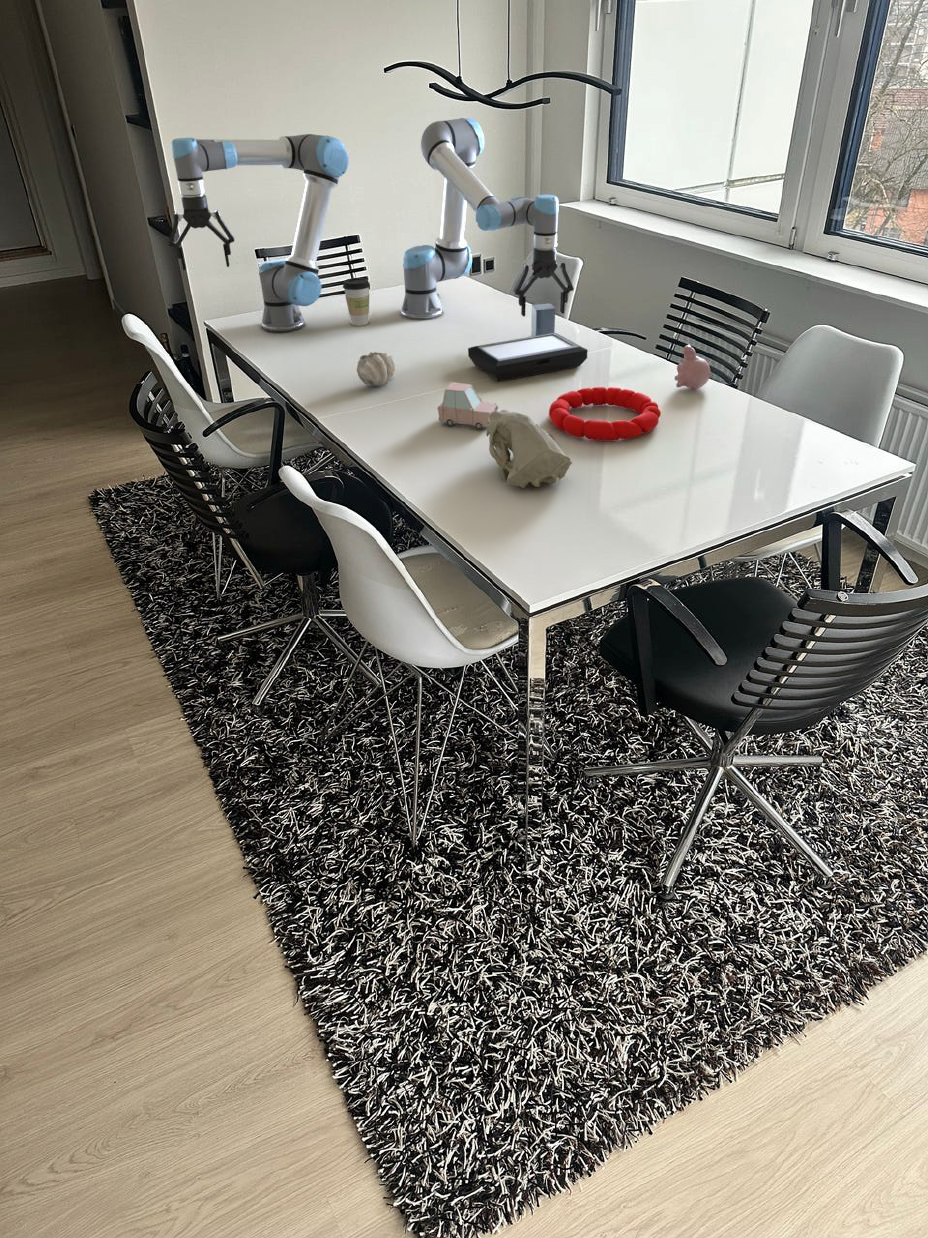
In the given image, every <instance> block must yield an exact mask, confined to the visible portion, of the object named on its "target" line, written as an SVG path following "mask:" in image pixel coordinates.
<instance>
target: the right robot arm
mask: <svg viewBox="0 0 928 1238" xmlns="http://www.w3.org/2000/svg"><path fill="white" fill-rule="evenodd" d="M484 148H485V136H484V132H483V129H482V127H481V125H480V124H479V122H478V121H477V120H475V119H474V118H471V117H468V118H464V117H461V118H454V119H447V120H436V121H434V122H431V123H430V124H428V126H426V128H425V129H424V130H423V133H422V135H421V139H420V150H421V153H422V156H423V158H424V159H425V162H426V163H427V165H428V166H429V167H430V168H431V169H432V170H434V171H438V172H439V173H440V174H441V175H442V177H443V178H444V184H443V193H442V194H443V195H442V196H443V197H442V209H441V210H442V211H441V221H440V232H439V234H440V235H438V237H436V238H435V245H434V246H433V245H431V244H423V245H415V246H413V247H410V248H408V249H407V250H405V251H404V252H403V257H402V267H403V278H404V298H403V301H402V306H401V316H402V317H403V318H405V319H409V320H415V321H416V320H417V321H418V320H419V321H424V320H432V319H435V318H439V317H441V316H442V315H443V307H442V304H441V301H440V299H439V298H440V295H439V293H438V292H437V283H440V282H444V281H449V280H455V279H459V278H461V277H464V276H466V275H467V274H468V273H469V271H470V270H471V268H472V263H473V255H472V254H471V252H472V250H471V248H470V246H469V245H468V242H467V240H466V239H465V237H464V236H465V229H466V228H465V226H466V217H467V206H469V207H470V208H471V209H472V210H473V211H474V212H475V222H476V223H477V227H478V228H479V229H480V230H481V231H484V232H487V231H496V230H500V229H505V228H511V227H516V226H521V225H528V226H531V227H533V245H532V246H533V247H534V248H533V249H532V250H533V251H532V264H527V263H524V264H523V266H522V271H521V273H520V275H519V278H518V279H517V281H516V284H515V286H514V288H513V291H512V292H513V294H514V295H516V296H518V305H519V307H521V309H520V315H521V316H522V317H526V305H527V304H526V301H527V300H526V299H527V296H526V295H525V294H526V293H527V291H529V289H530V288H531V286H533V285H534V283H535V281H537V280H538V278H539V279H550V278H551V277H552V278H553V280H554V281H555V282H556V283H557V285H558V286H559V287H560V288H561V290H562V291H560V305H559V313H561V314H562V315H564V314H565V307H566V304H567V303H568V300H569V293H570V292H573V291H574V289H575V288H574V285H573V283H572V281H571V278H570V276H569V273H568V272H567V269H566V263H565V262H564V261H562V260H561V261H560V262H557V248H556V247H557V246H558V242H557V241H558V222H559V210H560V209H559V198H558V197H557V196H556V195H554V194H539V195H536V196H535V198H534V199H532V198H528V197H525V196H514V197H512V198H511V199H510V200H507V201H502V202H500V201H499V200H498V199H497V198H496V197H495V195H494V194H492V192H491V191H490V190H489V189H488V188H487V187H486V186H485V185H484V184H483V182H482V180H480V179H479V178H478V177H477V176H476V175H475V173H474V172H473V171H472V169H473V168H474V167H475V166H476V158H477V157H478V156H480V155H481V154H482V152H483V151H484ZM557 268H558V269H559V270H560V272H561V274H562V276H563V278H564V282H565V284H566V286H565V284H564V283H563V281H562V280H561V279H560V277H559V276H558V275H557V274H556V273H555V272H556V270H557ZM531 270H532V271H533V272H532V273H531V274H530V276H529V278H528V279H527V280H526V278H527V276H528V274H529V272H530V271H531ZM524 282H525V283H524Z"/></svg>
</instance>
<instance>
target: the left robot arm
mask: <svg viewBox="0 0 928 1238" xmlns="http://www.w3.org/2000/svg"><path fill="white" fill-rule="evenodd" d="M170 145H171V151H172V159H173V163H174V167H175V172H176V177H177V184H178V188H179V194H180V195H181V198H180V199H181V204H182V211H183V213H178V212H175V213H174V214H173V221H174V222H173V226H172V230H171V233H170V237H169V241H168V246H169V247H172V248H174V249H175V253H176V258H177V259H178V260H181V265H182V271H187V265H186V259H185V254H184V249H183V246H181V244H182V242H183V241H184V239H185V238H186V236H187V234H188V232H189V231H190V229H191V228H192V229H198V228H200V229H205V228H206V227H207V228H208V230H210V231H211V232H213V233H214V235H216V237H218V238H219V239H220V240H221V242H223V244H222V246H223V252H224V259H225V263H226V265H225V266H226V267H227V268H229V267H230V260H229V256H231V255H232V250H231V244H232V243H234V242H235V237H234V235H233V233H232V232H231V231H230V229H229V227H228V226H227V224H226V223H225V222H224V220H223V218H222V216H221V213H220V211H219V210H218V209H216V210H215V211H210V209H209V204H208V199H207V196H206V194H205V193H206V187H205V182H204V177H203V173H206V172H213V171H221V170H228V169H233V168H235V167H236V166H237V167H238V166H239V167H241V166H280V167H281V168H282V169H292V170H293V169H294V170H297V171H303V172H302V173H303V174H302V175H303V178H304V180H305V186H304V190H303V191H304V192H303V196H302V201H301V207H300V210H299V215H298V221H297V226H296V230H295V235H294V240H293V244H292V250H291V255H290V256H289V257H287V258H277V259H271V260H266V261H262V262H260V263H259V264H258V275H259V281H260V287H261V292H262V293H261V294H262V299H263V313H262V319H261V326H262V330H264V331H265V332H271V333H286V332H293V331H296V330H297V331H298V330H300V329H302V328H304V326H305V318H304V317H303V314H302V312H301V310H300V307H308V306H311V305H313V304H314V303H315V302H317V301H318V300H319V297H320V295H321V292H322V282H321V281H320V280H321V279H320V277H318V276H319V273H320V268H319V266H318V265H317V260H318V256H319V251H320V246H321V241H322V236H323V232H324V227H325V223H326V218H327V212H328V208H329V203H330V200H331V194H332V191H333V189H335V188H336V187H338V184H339V180H340V177H342V176H343V175H344V174H345V173H347V170H348V168H349V164H350V157H349V152H348V149H347V147H346V146H345V144H344V142H343V141H341V140H340V139H339V138H337V137H334V136H330V135H323V134H321V135H320V134H315V133H314V134H313V133H307V134H304V133H303V134H297V135H288V136H286V135H285V136H283V135H282V136H280V137H279V138H278V139H222V138H221V139H217V138H215V139H214V138H213V139H212V138H211V139H204V138H203V139H201V138H194V137H178V138H174V139H172V140H171V143H170ZM211 217H213V219H214V220H216V221H217V223H218V224H219V226H220V228H221V229H222V230H223V232H224V233H225V235H226V236H227V237H226V236H225V235H224V234H223V232H221V231H220V230H219V229H218V228H217V227H216V226H215V225H214V224H213V222H211V220H210V219H211ZM182 219H184V221H185V222H186V225H185V226H184V228H183V230H182V232H181V233H180V234H179V237H178V238H177V240H176V241H175V238H176V234H177V231H178V228H179V222H181V221H182Z"/></svg>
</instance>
